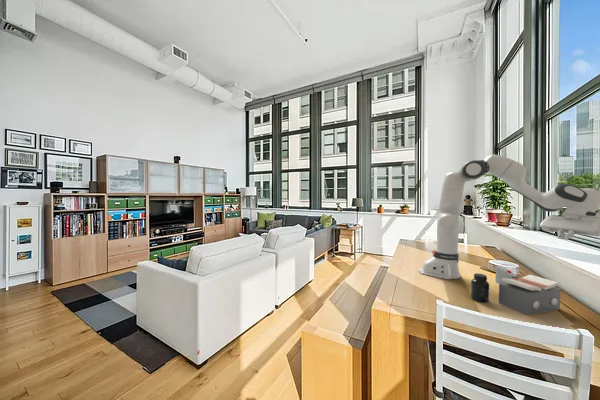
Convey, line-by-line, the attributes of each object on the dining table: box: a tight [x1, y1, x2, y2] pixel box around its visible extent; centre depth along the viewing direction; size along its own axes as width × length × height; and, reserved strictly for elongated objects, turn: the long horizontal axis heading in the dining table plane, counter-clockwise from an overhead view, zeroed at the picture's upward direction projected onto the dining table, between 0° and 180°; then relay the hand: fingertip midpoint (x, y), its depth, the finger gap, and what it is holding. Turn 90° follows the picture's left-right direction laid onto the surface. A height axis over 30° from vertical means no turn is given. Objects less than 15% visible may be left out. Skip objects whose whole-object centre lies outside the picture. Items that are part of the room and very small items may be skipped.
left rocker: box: [502, 278, 542, 291], centre depth 102 cm, size 8×10×2 cm
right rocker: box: [518, 274, 559, 290], centre depth 105 cm, size 8×10×2 cm
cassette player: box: [495, 265, 520, 285], centre depth 124 cm, size 16×3×10 cm, turn 163°
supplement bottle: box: [470, 273, 490, 304], centre depth 109 cm, size 7×7×12 cm
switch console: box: [498, 283, 562, 316], centre depth 103 cm, size 20×12×9 cm, turn 105°
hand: (562, 238), depth 108 cm, fingers closed
